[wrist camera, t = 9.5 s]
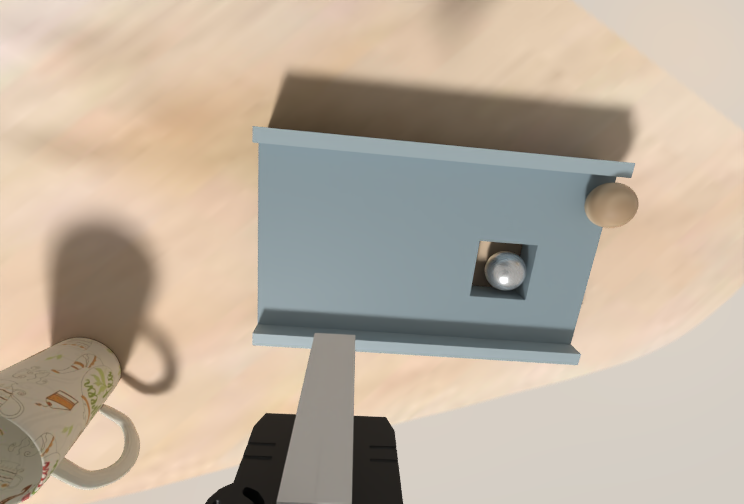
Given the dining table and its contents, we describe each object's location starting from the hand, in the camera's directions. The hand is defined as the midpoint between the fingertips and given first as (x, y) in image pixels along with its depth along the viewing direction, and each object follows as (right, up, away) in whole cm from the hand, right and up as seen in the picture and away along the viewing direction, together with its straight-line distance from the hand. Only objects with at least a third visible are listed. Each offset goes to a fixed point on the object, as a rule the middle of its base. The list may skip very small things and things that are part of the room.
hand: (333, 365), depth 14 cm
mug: (-22, -7, +20) cm, 31 cm away
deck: (+6, +5, +17) cm, 18 cm away
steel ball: (+12, +3, +16) cm, 20 cm away
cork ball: (+18, +8, +12) cm, 23 cm away
